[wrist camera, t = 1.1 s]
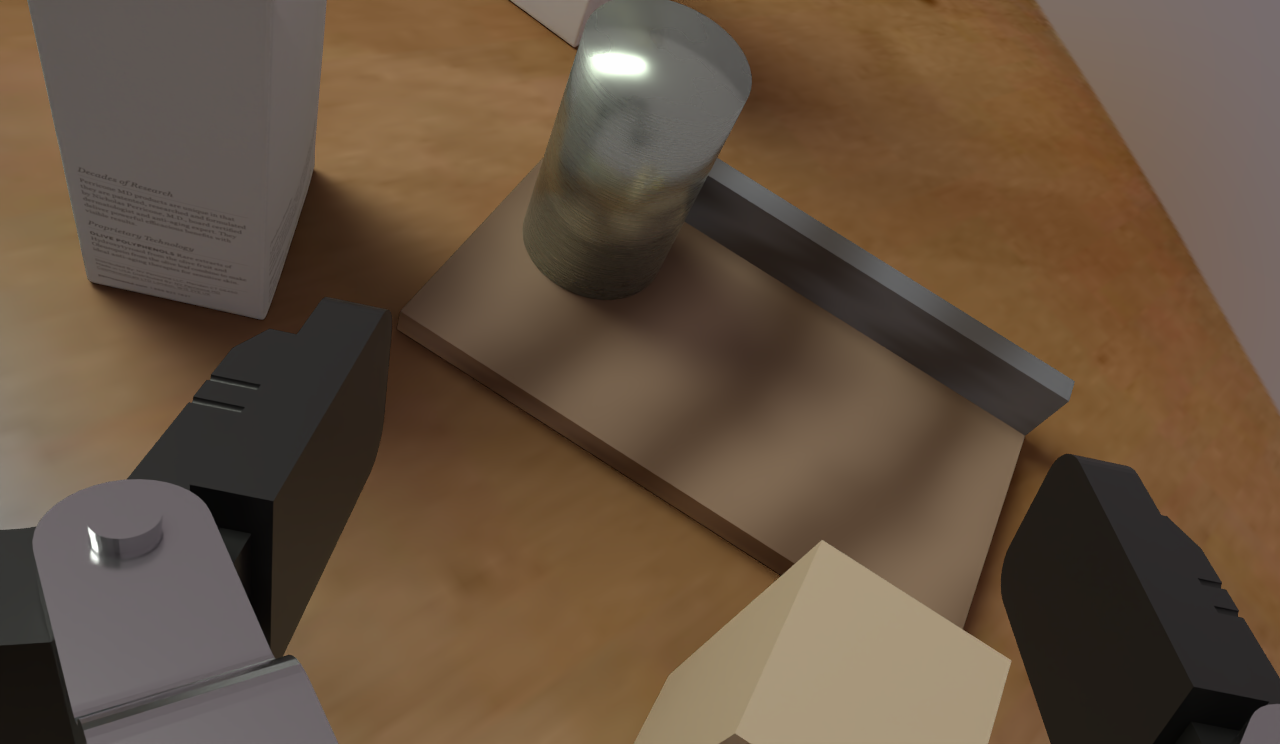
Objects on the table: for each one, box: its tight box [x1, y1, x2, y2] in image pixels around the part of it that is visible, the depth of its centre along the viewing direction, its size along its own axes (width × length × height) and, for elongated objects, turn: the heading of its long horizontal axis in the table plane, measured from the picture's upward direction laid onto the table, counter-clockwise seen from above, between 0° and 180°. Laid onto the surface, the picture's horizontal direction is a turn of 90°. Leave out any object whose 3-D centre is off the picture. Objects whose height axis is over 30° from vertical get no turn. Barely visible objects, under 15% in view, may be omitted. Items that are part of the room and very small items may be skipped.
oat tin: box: [522, 0, 752, 300], centre depth 39 cm, size 6×6×10 cm
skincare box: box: [27, 0, 327, 319], centre depth 33 cm, size 8×7×16 cm
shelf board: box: [397, 157, 1075, 629], centre depth 41 cm, size 24×13×4 cm, turn 62°
